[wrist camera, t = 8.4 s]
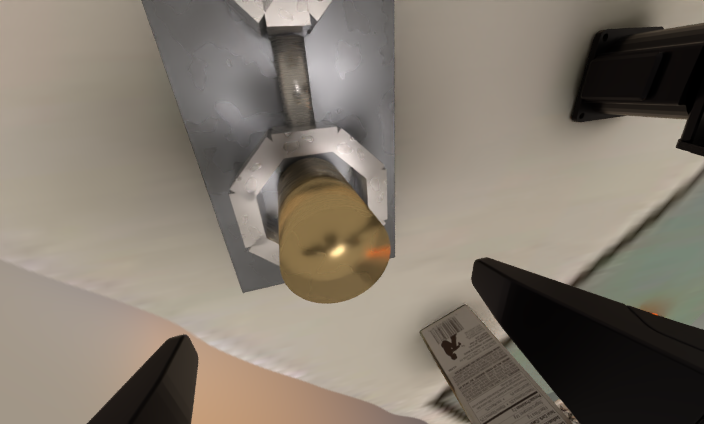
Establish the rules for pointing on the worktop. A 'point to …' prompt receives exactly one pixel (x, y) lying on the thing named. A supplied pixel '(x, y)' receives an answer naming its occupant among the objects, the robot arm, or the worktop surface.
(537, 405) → the coffee box
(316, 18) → the manifold
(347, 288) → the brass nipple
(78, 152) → the worktop surface
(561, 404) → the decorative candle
